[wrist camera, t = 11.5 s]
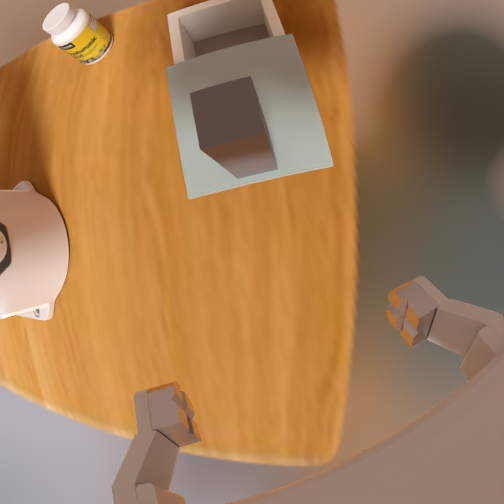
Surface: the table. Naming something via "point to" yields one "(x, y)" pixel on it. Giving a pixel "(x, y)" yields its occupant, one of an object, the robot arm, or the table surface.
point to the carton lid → (246, 116)
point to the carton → (221, 26)
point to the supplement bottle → (78, 33)
